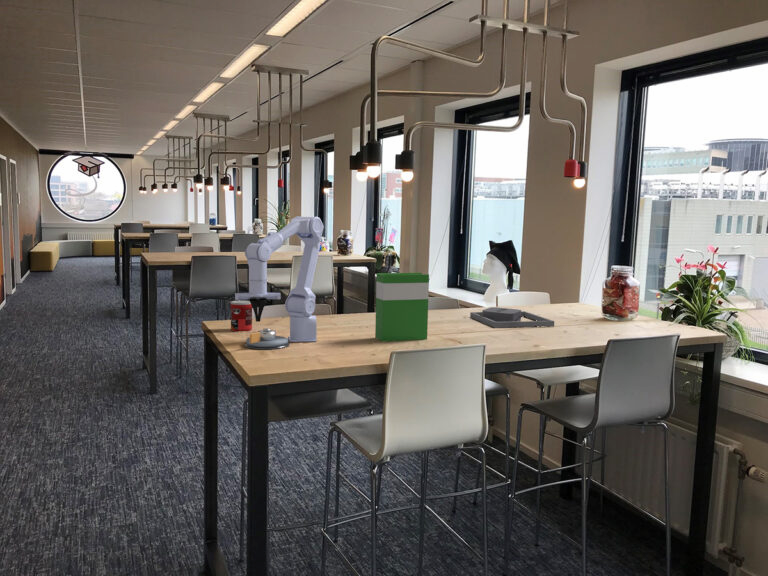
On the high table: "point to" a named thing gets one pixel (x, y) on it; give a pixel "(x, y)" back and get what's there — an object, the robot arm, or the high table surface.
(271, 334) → the cover
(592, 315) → the high table surface
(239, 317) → the canned food
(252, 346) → the turntable base
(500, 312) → the streaming box
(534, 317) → the black tray rim
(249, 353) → the high table surface
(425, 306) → the green cereal box
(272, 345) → the turntable
